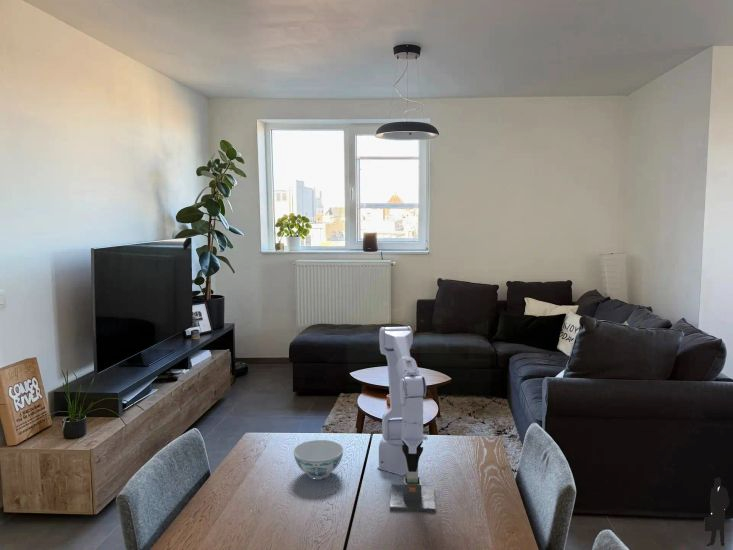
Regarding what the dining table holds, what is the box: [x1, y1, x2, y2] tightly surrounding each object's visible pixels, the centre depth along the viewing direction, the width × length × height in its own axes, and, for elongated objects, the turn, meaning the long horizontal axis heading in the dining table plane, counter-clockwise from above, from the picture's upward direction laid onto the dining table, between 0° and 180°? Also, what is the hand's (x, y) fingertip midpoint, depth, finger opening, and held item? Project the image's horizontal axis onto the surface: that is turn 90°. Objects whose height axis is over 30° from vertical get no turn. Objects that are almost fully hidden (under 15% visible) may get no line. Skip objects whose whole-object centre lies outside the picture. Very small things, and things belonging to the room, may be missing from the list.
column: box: [406, 466, 419, 484], centre depth 144 cm, size 3×3×8 cm
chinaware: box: [293, 439, 344, 480], centre depth 160 cm, size 15×15×8 cm
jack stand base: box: [389, 475, 436, 513], centre depth 145 cm, size 12×12×6 cm
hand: (412, 468), depth 144 cm, fingers closed on column, 3 cm apart
